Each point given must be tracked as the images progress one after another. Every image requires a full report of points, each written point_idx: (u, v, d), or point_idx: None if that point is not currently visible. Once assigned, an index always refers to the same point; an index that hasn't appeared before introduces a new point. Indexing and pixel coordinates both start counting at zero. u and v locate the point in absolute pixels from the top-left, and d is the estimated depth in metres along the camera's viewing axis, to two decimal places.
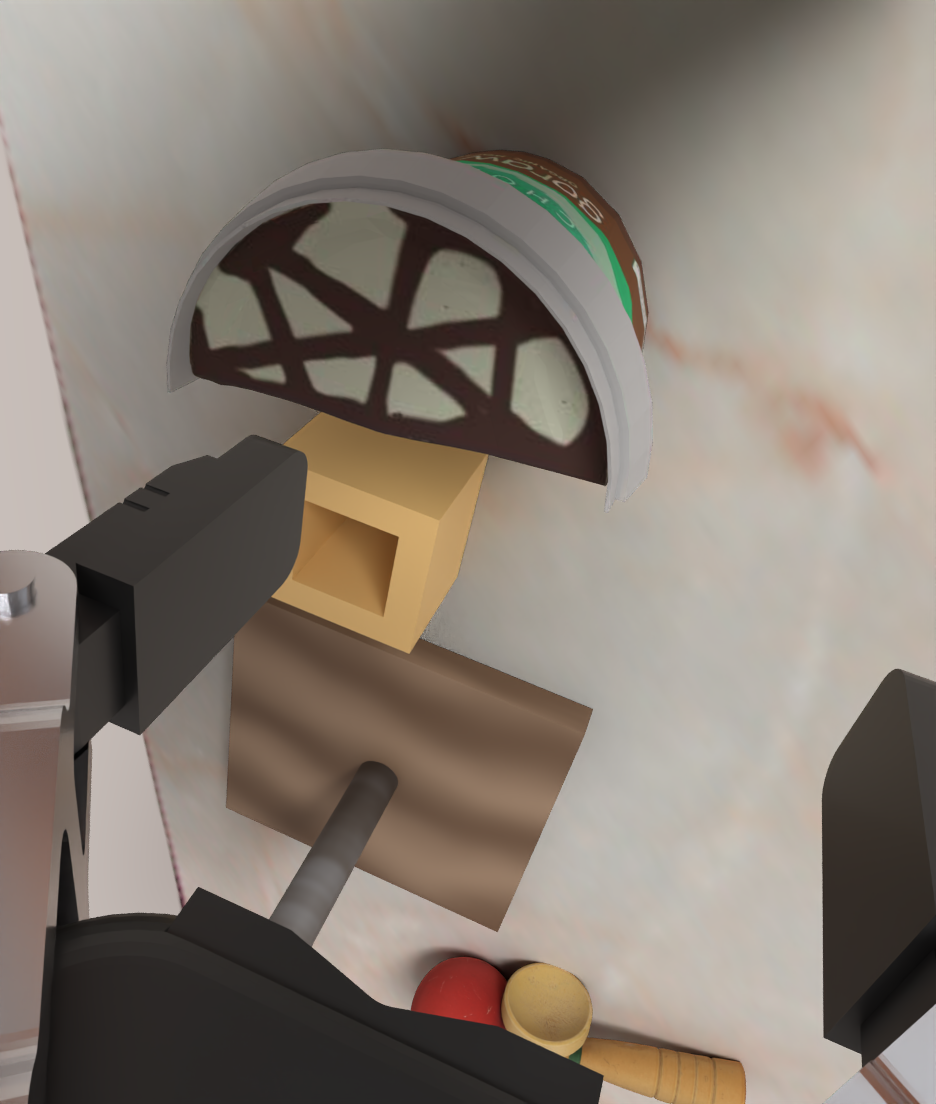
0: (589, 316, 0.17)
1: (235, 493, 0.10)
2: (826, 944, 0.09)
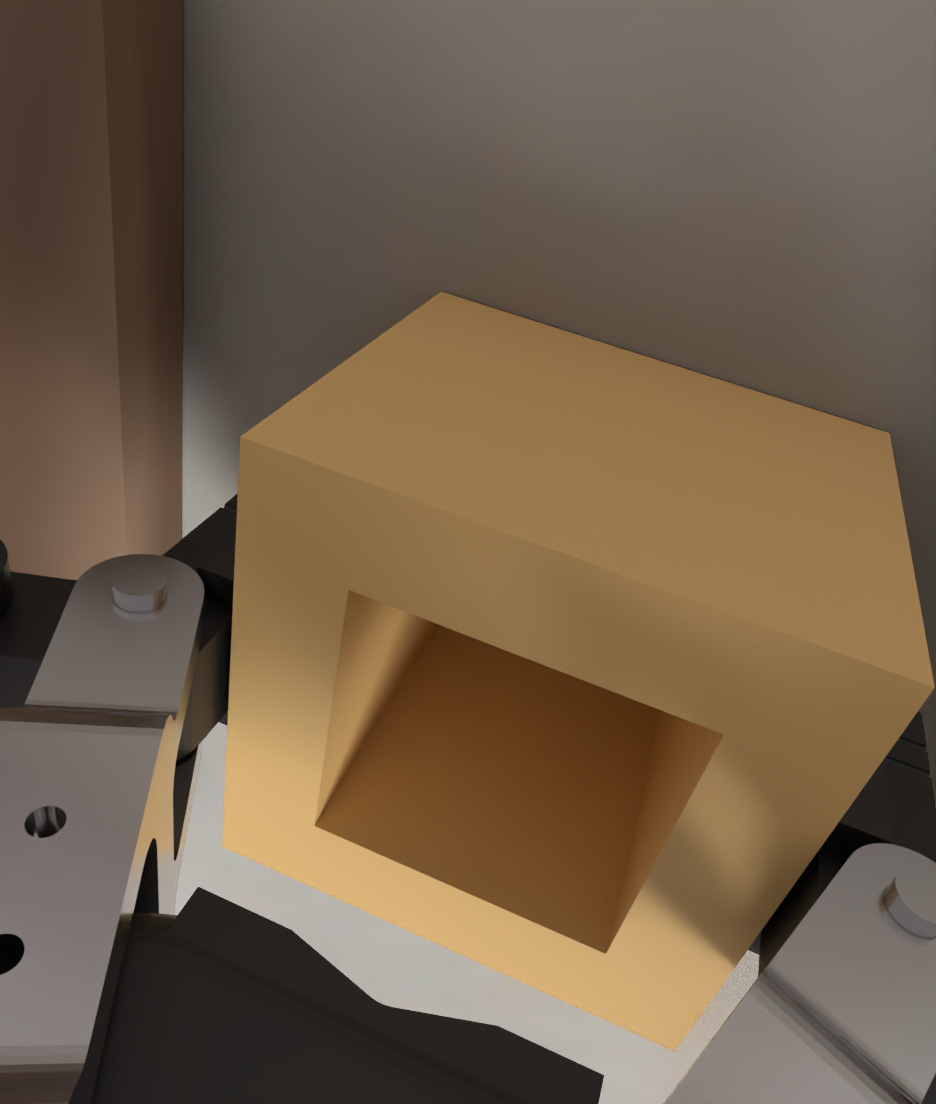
0: None
1: None
2: None
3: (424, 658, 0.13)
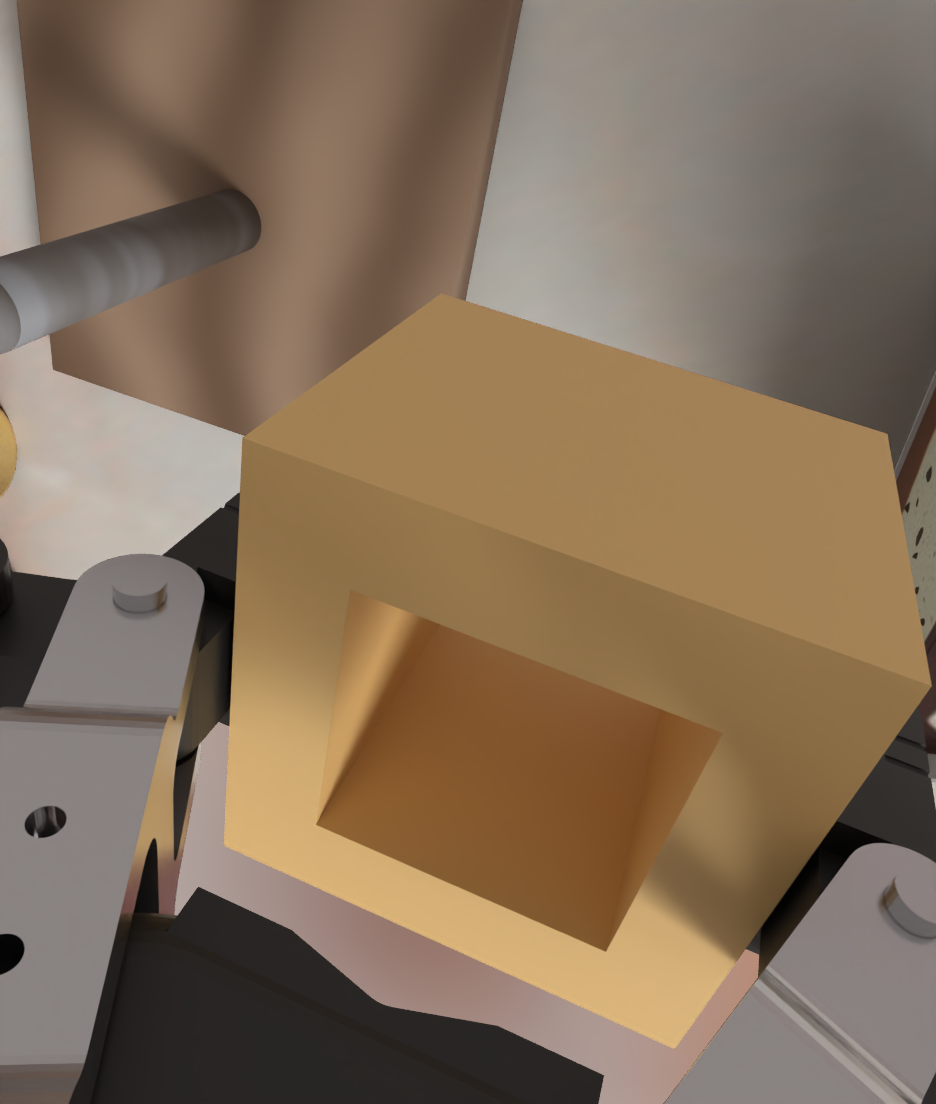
0: None
1: None
2: None
3: (425, 658, 0.13)
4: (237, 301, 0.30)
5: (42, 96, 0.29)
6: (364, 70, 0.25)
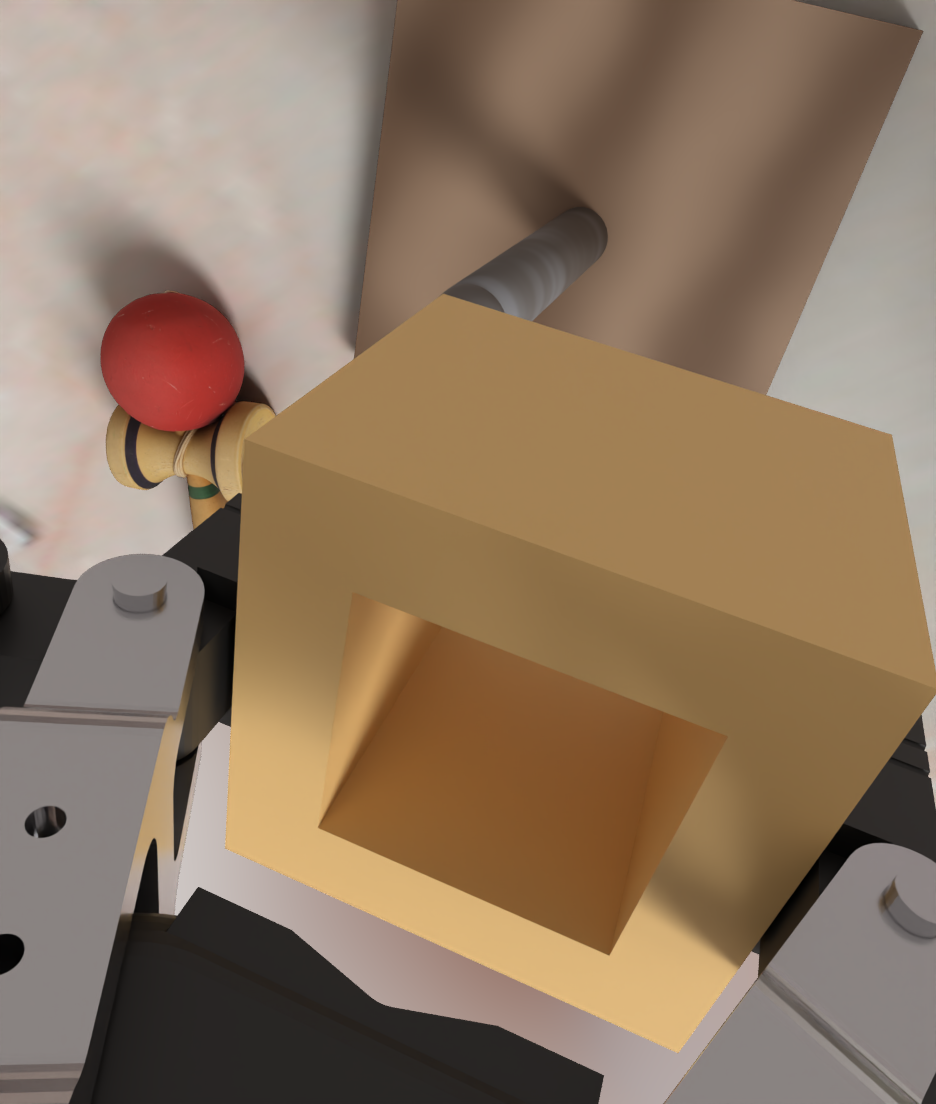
0: None
1: None
2: None
3: (426, 660, 0.13)
4: (565, 313, 0.32)
5: (400, 116, 0.30)
6: (751, 97, 0.26)
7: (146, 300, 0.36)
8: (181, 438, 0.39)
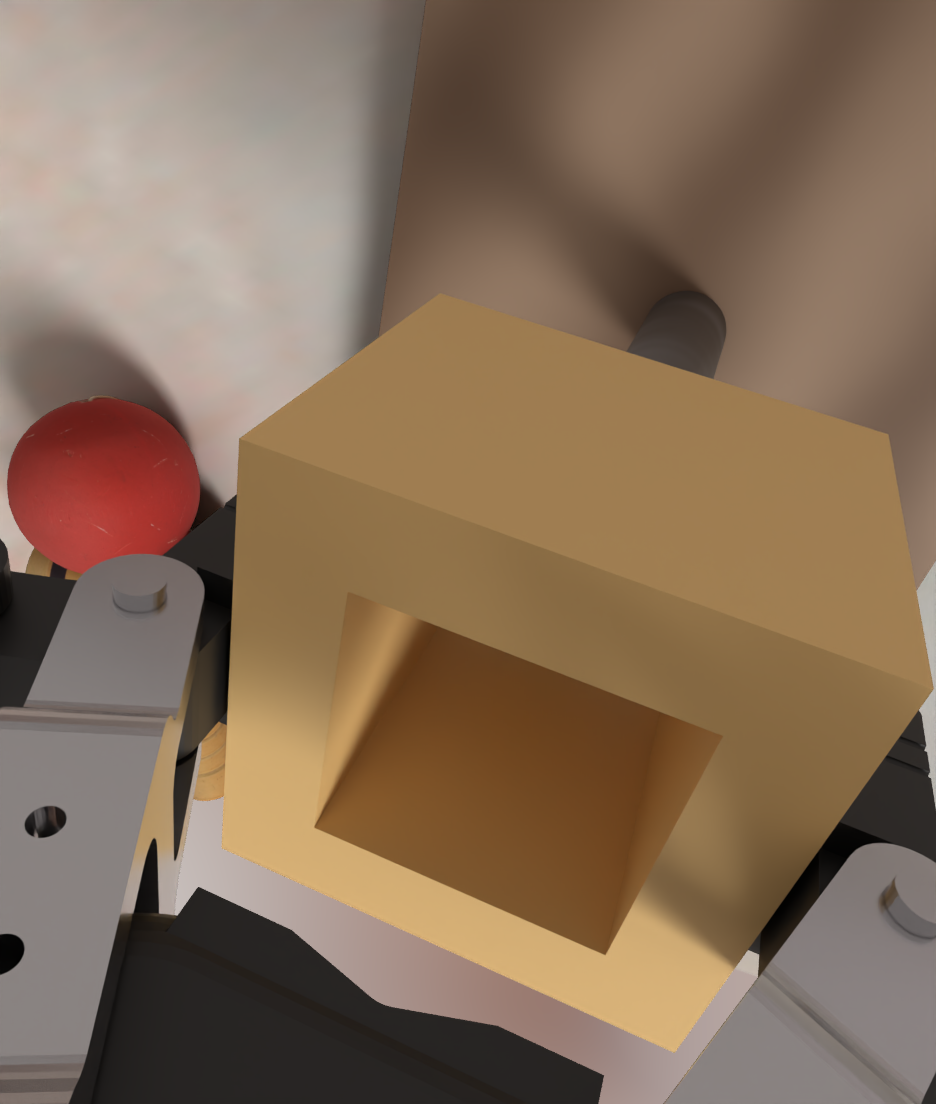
0: None
1: None
2: None
3: (424, 659, 0.13)
4: None
5: (428, 160, 0.21)
6: None
7: (63, 414, 0.27)
8: None
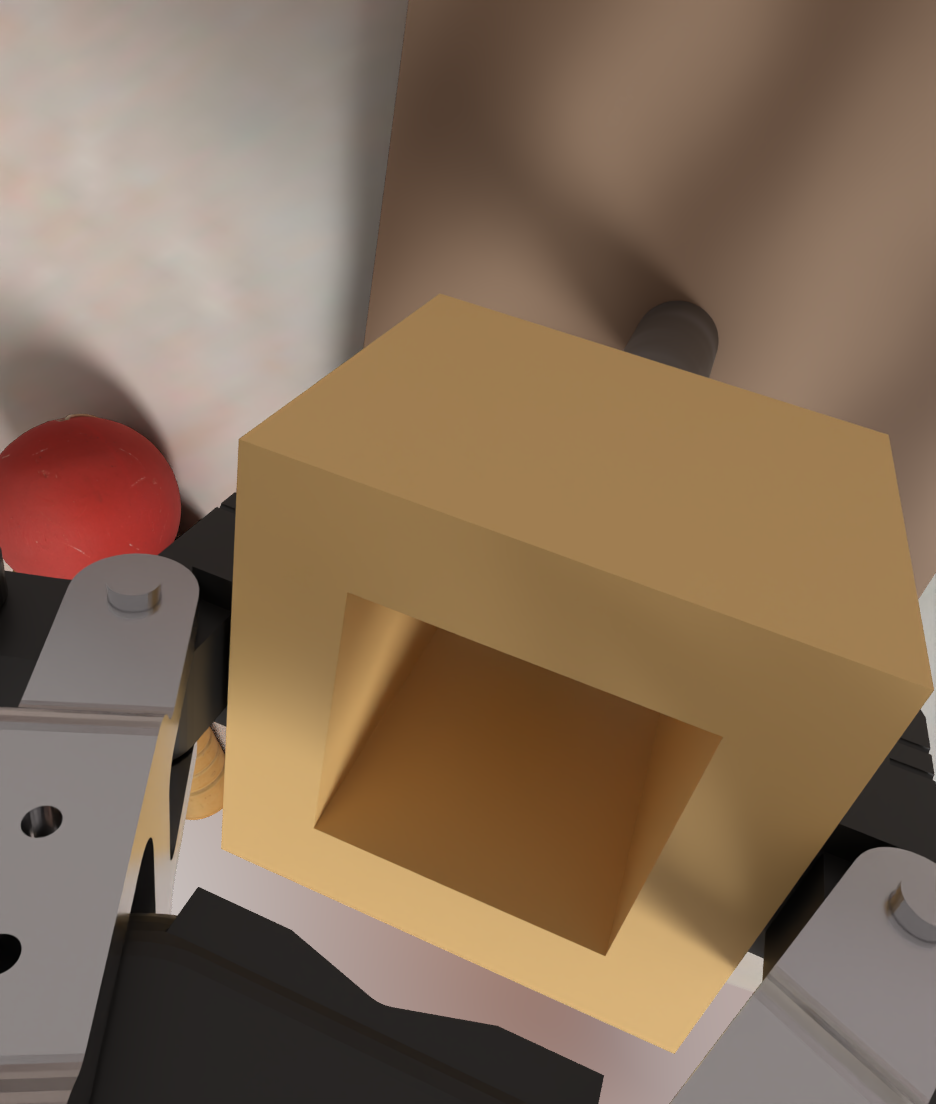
0: None
1: None
2: None
3: (423, 660, 0.13)
4: None
5: (412, 167, 0.21)
6: None
7: (39, 434, 0.27)
8: None
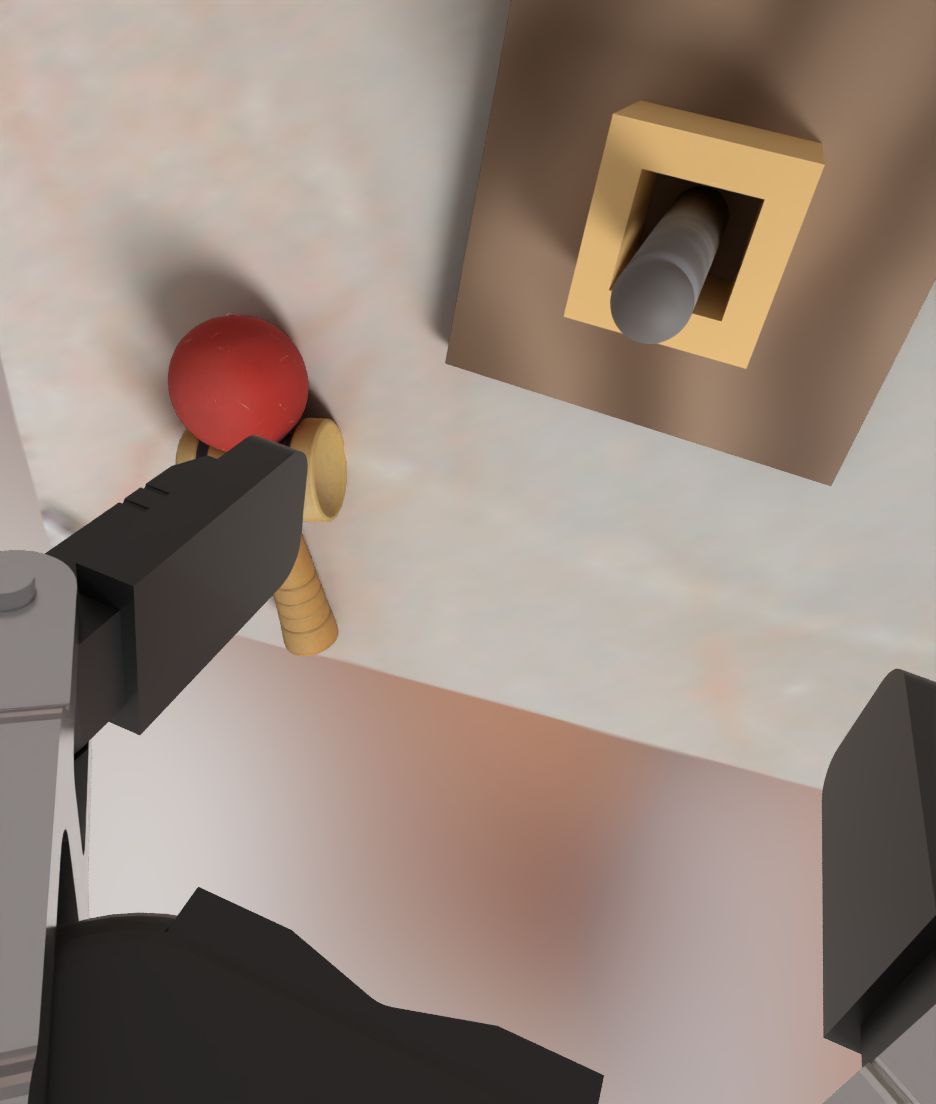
0: None
1: (235, 493, 0.10)
2: (827, 944, 0.09)
3: None
4: None
5: (512, 96, 0.30)
6: (891, 69, 0.26)
7: (211, 324, 0.36)
8: None
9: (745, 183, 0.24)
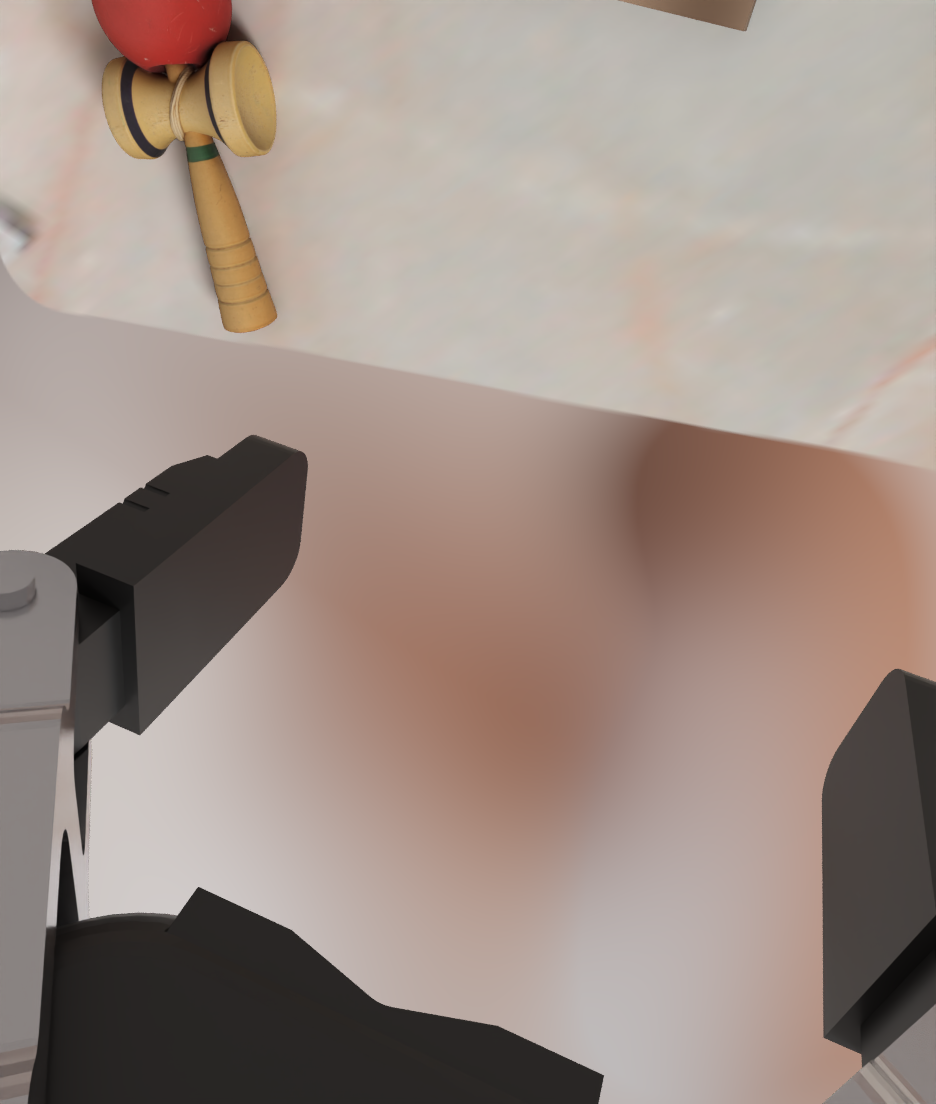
0: None
1: (235, 493, 0.10)
2: (827, 944, 0.09)
3: None
4: None
5: None
6: None
7: None
8: (175, 84, 0.39)
9: None
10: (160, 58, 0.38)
